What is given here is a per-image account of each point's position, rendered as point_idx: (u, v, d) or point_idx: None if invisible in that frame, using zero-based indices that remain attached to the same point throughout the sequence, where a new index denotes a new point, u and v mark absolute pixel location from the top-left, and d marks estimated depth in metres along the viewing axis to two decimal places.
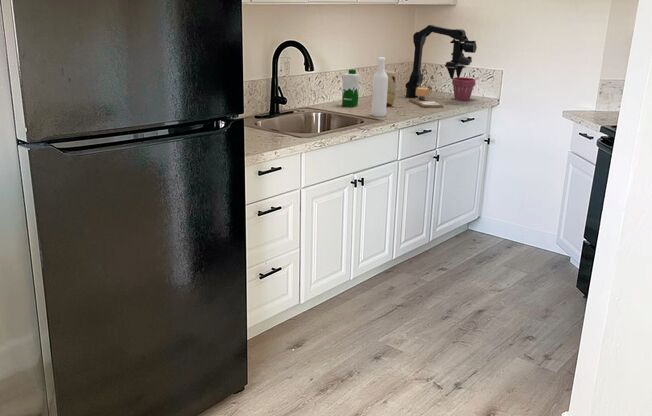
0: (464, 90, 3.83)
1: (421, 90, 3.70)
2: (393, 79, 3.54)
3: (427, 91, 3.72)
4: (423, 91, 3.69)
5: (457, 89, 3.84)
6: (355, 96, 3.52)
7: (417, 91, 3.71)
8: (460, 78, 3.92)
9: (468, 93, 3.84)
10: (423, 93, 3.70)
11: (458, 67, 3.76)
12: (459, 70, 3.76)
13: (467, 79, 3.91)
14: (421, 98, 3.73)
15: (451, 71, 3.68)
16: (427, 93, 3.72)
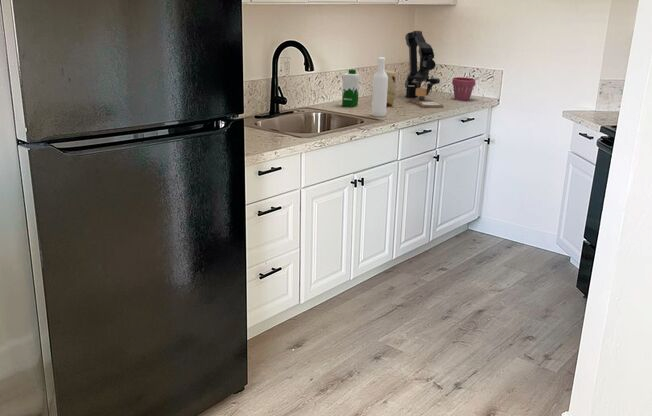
0: (464, 90, 3.83)
1: (421, 90, 3.70)
2: (393, 79, 3.54)
3: None
4: (423, 91, 3.69)
5: (457, 89, 3.84)
6: (355, 96, 3.52)
7: (417, 91, 3.71)
8: (460, 78, 3.92)
9: (468, 93, 3.84)
10: (423, 93, 3.70)
11: None
12: None
13: (467, 79, 3.91)
14: (421, 98, 3.73)
15: None
16: None
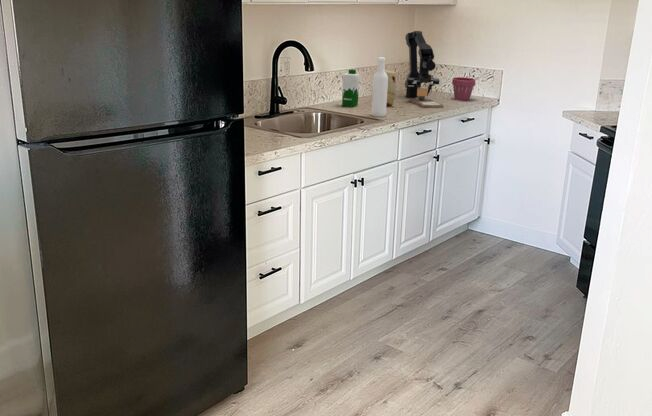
0: (464, 90, 3.83)
1: (423, 90, 3.70)
2: (393, 79, 3.54)
3: None
4: (425, 91, 3.70)
5: (457, 89, 3.84)
6: (355, 96, 3.52)
7: (419, 91, 3.70)
8: (460, 78, 3.92)
9: (468, 93, 3.84)
10: (425, 93, 3.70)
11: None
12: (428, 88, 3.72)
13: (467, 79, 3.91)
14: (421, 98, 3.73)
15: (415, 87, 3.73)
16: None
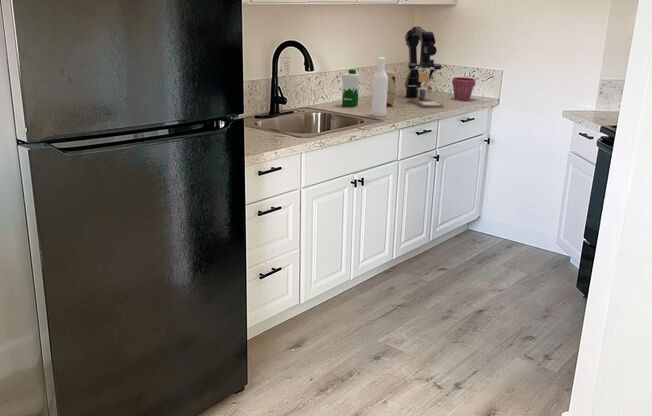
0: (464, 90, 3.83)
1: (425, 76, 3.67)
2: (393, 79, 3.54)
3: None
4: (427, 76, 3.67)
5: (457, 89, 3.84)
6: (355, 96, 3.52)
7: (420, 77, 3.67)
8: (460, 78, 3.92)
9: (468, 93, 3.84)
10: (427, 78, 3.67)
11: (430, 70, 3.69)
12: (429, 74, 3.69)
13: (467, 79, 3.91)
14: (421, 98, 3.73)
15: (416, 73, 3.70)
16: None
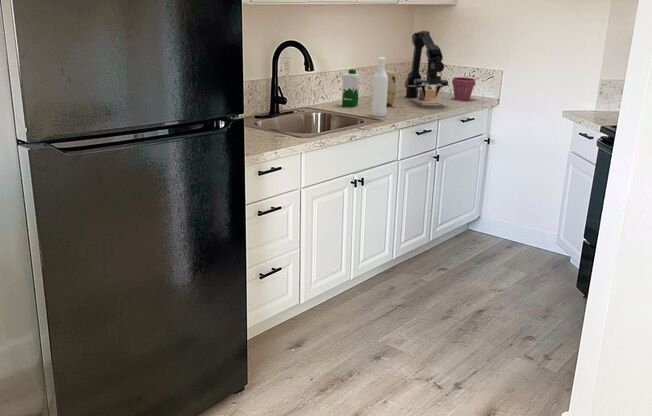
0: (464, 90, 3.83)
1: (432, 92, 3.58)
2: (393, 79, 3.54)
3: None
4: (434, 93, 3.59)
5: (457, 89, 3.84)
6: (355, 96, 3.52)
7: (427, 93, 3.59)
8: (460, 78, 3.92)
9: (468, 93, 3.84)
10: (434, 95, 3.59)
11: (436, 87, 3.61)
12: (436, 90, 3.61)
13: (467, 79, 3.91)
14: (421, 98, 3.73)
15: None
16: None
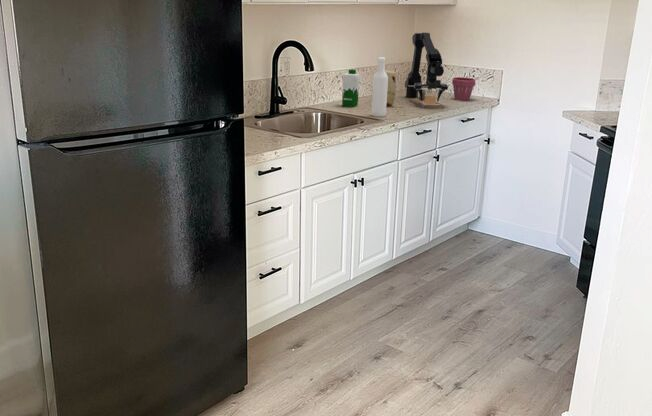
0: (464, 90, 3.83)
1: (431, 98, 3.60)
2: (393, 79, 3.54)
3: None
4: (433, 99, 3.60)
5: (457, 89, 3.84)
6: (355, 96, 3.52)
7: (427, 99, 3.60)
8: (460, 78, 3.92)
9: (468, 93, 3.84)
10: (433, 101, 3.60)
11: (439, 91, 3.62)
12: (438, 94, 3.61)
13: (467, 79, 3.91)
14: None
15: (420, 93, 3.62)
16: None
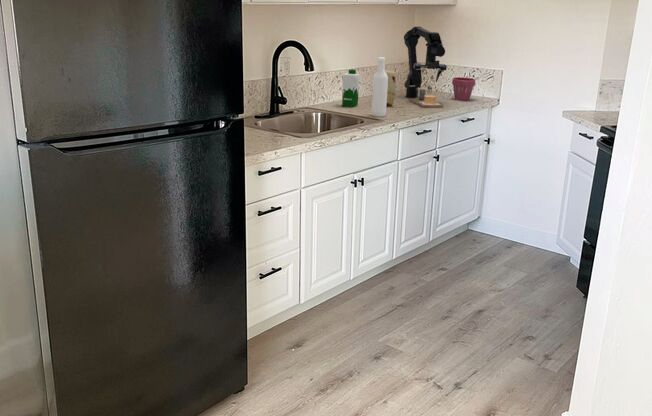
0: (464, 90, 3.83)
1: (431, 98, 3.60)
2: (393, 79, 3.54)
3: None
4: (433, 99, 3.60)
5: (457, 89, 3.84)
6: (355, 96, 3.52)
7: (427, 99, 3.60)
8: (460, 78, 3.92)
9: (468, 93, 3.84)
10: (433, 101, 3.60)
11: (437, 71, 3.70)
12: (437, 74, 3.70)
13: (467, 79, 3.91)
14: (421, 98, 3.73)
15: (419, 73, 3.71)
16: None
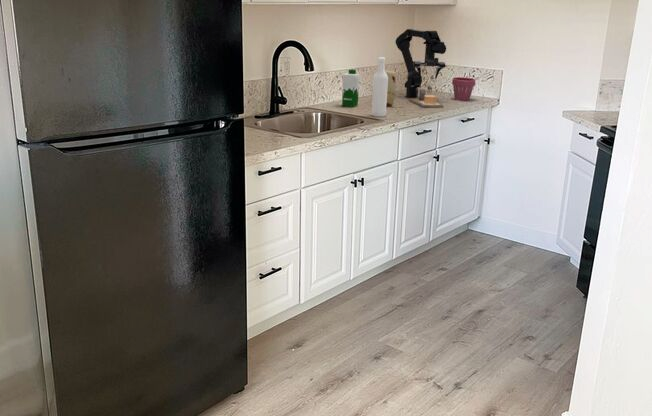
0: (464, 90, 3.83)
1: (431, 98, 3.60)
2: (393, 79, 3.54)
3: None
4: (433, 99, 3.60)
5: (457, 89, 3.84)
6: (355, 96, 3.52)
7: (427, 99, 3.60)
8: (460, 78, 3.92)
9: (468, 93, 3.84)
10: (433, 101, 3.60)
11: (436, 69, 3.77)
12: (436, 72, 3.76)
13: (467, 79, 3.91)
14: (421, 98, 3.73)
15: None
16: None
